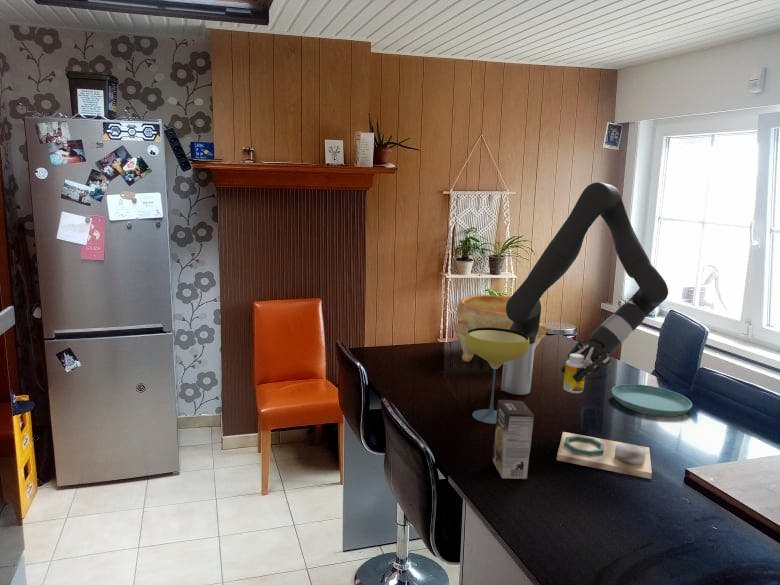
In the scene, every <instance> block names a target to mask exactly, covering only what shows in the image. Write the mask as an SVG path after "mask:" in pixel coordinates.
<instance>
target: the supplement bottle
mask: <svg viewBox="0 0 780 585" xmlns="http://www.w3.org/2000/svg"><path fill="white" fill-rule="evenodd" d="M584 364H585V362H584V356H583V355H581V354H575V353H574V354H570V356H569V358H568V360H566V361H565V365H564V366H565V374H563V375H564V377H563V384H562V388H563V390H564V391H565V392H568V393H571V394H581V393H582V392H584V388H585V380H586V376H585V377H584V378H582V380H580V381H579V382H576V381H575V380H574V379H573V375H574V374H575V373H576V372H577V371H578V370H579V369H580V368H583V365H584Z"/></svg>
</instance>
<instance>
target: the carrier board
mask: <svg viewBox="0 0 780 585" xmlns="http://www.w3.org/2000/svg"><path fill="white" fill-rule="evenodd" d="M561 434H562V435H561V439H560V441H559V442H560V443H559V446H558V451H557V453H556V454H557V455H556V461H560V462H564V463H569V464H574V465H579V466H585V467H590V468H594V469H600V470H603V471H604V470H605V471H610V472H614V473H618V474H623V475H624V474H625V475H628V476H629V475H630V476H634V477H638V478H644V479H649V480H652V476H653V475H652V474H653V471H652V463H651V462H652V461H651V453H650V447H647V446H643V445H637V444H632V443H625V442H622V441H616V440H610V439H604V438H598V437H594V436H588V435H582V434H578V433H573V432H572V433H571V432H565V431H562V433H561Z"/></svg>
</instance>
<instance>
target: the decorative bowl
mask: <svg viewBox="0 0 780 585" xmlns="http://www.w3.org/2000/svg"><path fill="white" fill-rule="evenodd" d="M510 297H511V296H505V295H496V294H495V295H493V294H483V295H481V294H480V295H471V296H466V297H464V298H462V299H461V300H459V303H458V304H457V308H456V317H457V319H458V321H459V322H458V323H456V324H454V326H453V328H454V329H456V333H457V340H458V341H459V342H460V347H461V349H462V354H461V355H462V356H461V358H462V361H463V362H466V363H469V362H471V361H472V359H473V357H474V356H475V355H476V354H475V353H473V352H472V351H471V350H470V349H469V348H468V347H467V345H466V334H467V332H468V331H469V330H471V329H474V328H502V329H510V328H511V326H512V324H513V321H512V320H510V319H509V318H508V316H507V314H506V304H507V302H508V300H509V298H510ZM546 334H547V326H546V325H545V324H543V323H541V322H540V323H539V330H538V334H537V336H536V339H535V348H534V351H535V350H536V347H537V346H538V345H539V344H540V343H541V339H544V338H545V336H546Z"/></svg>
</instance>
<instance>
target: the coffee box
mask: <svg viewBox="0 0 780 585" xmlns="http://www.w3.org/2000/svg"><path fill="white" fill-rule="evenodd" d="M496 411H497V418H496V424H495V430H494V431H495V432H494V440H493V442H494V443H493V457H492V462H493V465H494V466H495V468H496V470H497V472H498V474H499V475H500V477H501V479H514V480H515V479H518V480H519V479H521V480H526V479H528V471H529V463H530V453H531V448H532V447H531V445H532V435H533V429H534V428H533V426H534V418H535V417H534V416H535V414H534V413H533V412H532V411H531V410H530V408H529V407H528V406H527V405H526V403H525V402H524V400H513V399H498V400H497V409H496Z"/></svg>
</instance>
